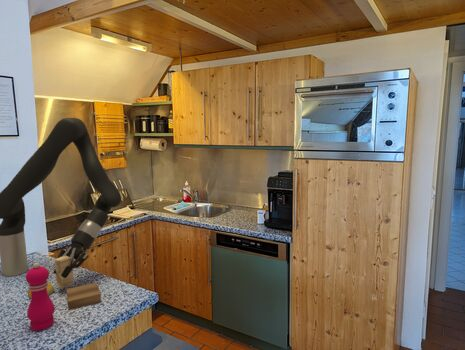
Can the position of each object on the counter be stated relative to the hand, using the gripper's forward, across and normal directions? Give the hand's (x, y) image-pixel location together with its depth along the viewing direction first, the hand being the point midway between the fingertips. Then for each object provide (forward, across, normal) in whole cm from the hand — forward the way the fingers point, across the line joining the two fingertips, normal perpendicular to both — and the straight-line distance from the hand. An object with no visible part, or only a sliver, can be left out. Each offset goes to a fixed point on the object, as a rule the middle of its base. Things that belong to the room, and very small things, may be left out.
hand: (59, 275), depth 120 cm
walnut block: (+4, +12, +6) cm, 13 cm away
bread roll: (+8, -6, +3) cm, 10 cm away
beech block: (+2, 0, +4) cm, 5 cm away
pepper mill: (+15, +14, -6) cm, 21 cm away
